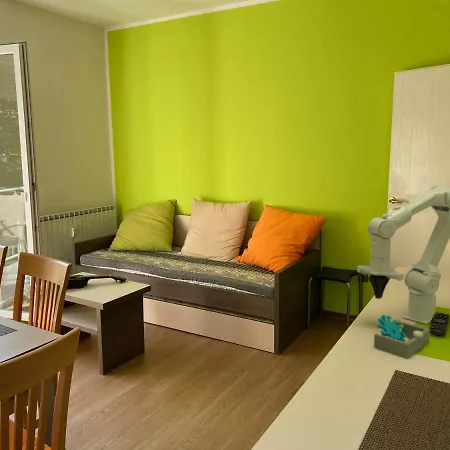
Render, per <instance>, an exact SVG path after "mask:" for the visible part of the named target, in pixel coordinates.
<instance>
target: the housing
mask: <svg viewBox="0 0 450 450" xmlns="http://www.w3.org/2000/svg"><path fill="white" fill-rule="evenodd" d="M396 321H397V322H398V323H397V324H395V325H396V326H399V325H401V324H402V325H403V326H404V327H403V330H402V331H401V332H403V333H405V334H406V337H405V338H408V339H410V340H408V341H406V342H403V341H399V340H396V339H393V338H390V337H389V336H383V335H382V334H381V333H375V334H374V335H373V336H374V337H373V340H374V341H373V349H379V350H381V351H383V352H387V353H389V354H392V355H396V356H398V357H402V358H405V359H409V358H411V357H412V356H413V355H415V354H416V353H417V352H419V351H420V350H422V348H423V347H425V346H426V345H427V344H429V343H430V335H431V334H430V331H431V330H430V328H426V327H423V326H419V325H415V324H412V323H408V322H405V321H401V320H397V319H396Z"/></svg>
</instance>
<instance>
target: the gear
mask: <svg viewBox="0 0 450 450" xmlns="http://www.w3.org/2000/svg"><path fill="white" fill-rule="evenodd" d="M392 318H393V317H392V316H391V315H385V314H382V315H381V316H380V317H379V318H378V319H377V321H378V324H377V328H379V329H381V330H380V335H383V336H386V337H390V338H393V339H396V340H399V341H403V342H406V343H407V340H406V339H405V338H407V337H406V334H405V333H403V332H401V331H402V330H403V327H404V326H403V325H402V324H401V325H399V326H396V325H395V324H397V323H398V322H397V319H393V320H392ZM391 320H392V321H391Z"/></svg>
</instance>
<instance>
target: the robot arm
mask: <svg viewBox="0 0 450 450" xmlns="http://www.w3.org/2000/svg"><path fill="white" fill-rule="evenodd" d="M430 207H431V209H433V211H434V212H435V213H436V215H437V221H436V223H435V225H434V226H433V227H434V228H433V230H432V232H431V234H430V237H429V239H428V242H427V244H426V246H425V249H424V250H423V253H422V256H421V257H420V259H419V261H418V262H415V263H413V264H412V265H411V267H410V269H409V270H408V271H407V272H406V273H405V276H404V273H402V272H399V271H395V270H392V269H390V265H391V262H390V261H391V238H392V237H394V235H395V233H396V231H397V230H398V229H401V227H404V226H405V225H406V224H408V223H410V222H411V221H412V217H413V216H415V215H416V214H418V213H420V212H422V211H424V210H426V209H427V208H430ZM366 227H367V228H366V229H367V232H368V233H369V236H370V266H369V265H363V264H362V265H357V266H356V267H357V269H356V271H357V273H364V274H368V275H369V276H368V281H369V282H370V284H371V287H372V289H373V292H374V298H375V299H378V300H380V299H382V298H383V296H384V292H385V289H386V287H387V285H388V283H389V282H390V280H391V279H393V280H397V281H398V282H402V281H403V280H404V284H405V286H407V290H408V302H407V303H408V305H407V306H408V307H407V313H405V314H404V315H403V316H402V318H403V319H405V320H406V319H407V320H410V321H414V322H418V323H421V324H425V325H428V324H429V323H430V322H432V321H433V320H432V317H433V315H434V314H436V306H437V305H436V304H437V295H436V293H437V292H438V291H439V287H440V281H441V277H442V275H441V272H440V271H439V270H438V266H439V264H440V262H441V259H442V256H443V255H444V252H445V250H446V248H447V245H448V243H449V240H450V187H442V186H437V185H434V186H431V187H430V188H428V189H426V190H425V191H424V193H423V194H422V195H421V196H418V197H417V198H416V199H414V200H413V201H411V203H409V204H407V205H406V206H405V205H395V206H394V208H393V209H392V210H389V212H387V213H384V214H382V216H380V217H374V218H372V219H371V220H370V222H369V223H368V226H366ZM431 320H432V321H431Z"/></svg>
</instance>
